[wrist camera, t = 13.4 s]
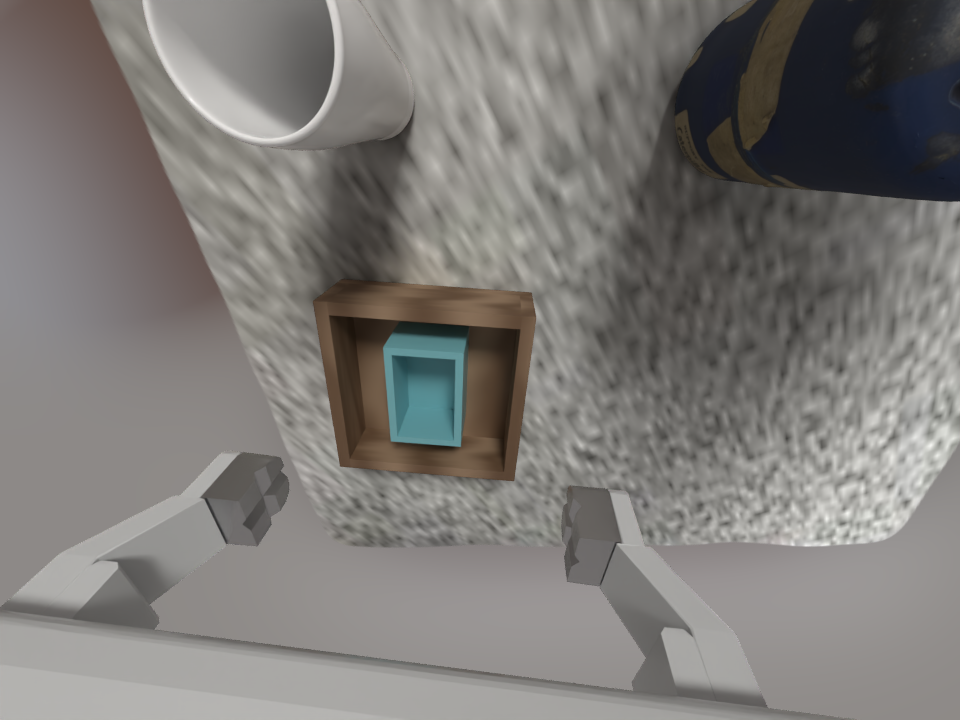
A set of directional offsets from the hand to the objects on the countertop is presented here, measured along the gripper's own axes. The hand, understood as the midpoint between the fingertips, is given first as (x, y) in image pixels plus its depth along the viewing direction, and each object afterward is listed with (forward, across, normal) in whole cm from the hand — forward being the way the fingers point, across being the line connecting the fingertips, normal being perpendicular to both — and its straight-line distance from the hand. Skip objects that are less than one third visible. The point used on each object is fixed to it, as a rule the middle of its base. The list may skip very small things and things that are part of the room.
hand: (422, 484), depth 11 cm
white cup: (+23, +8, -11) cm, 27 cm away
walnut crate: (+22, +4, +10) cm, 25 cm away
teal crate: (+22, +4, +10) cm, 24 cm away
